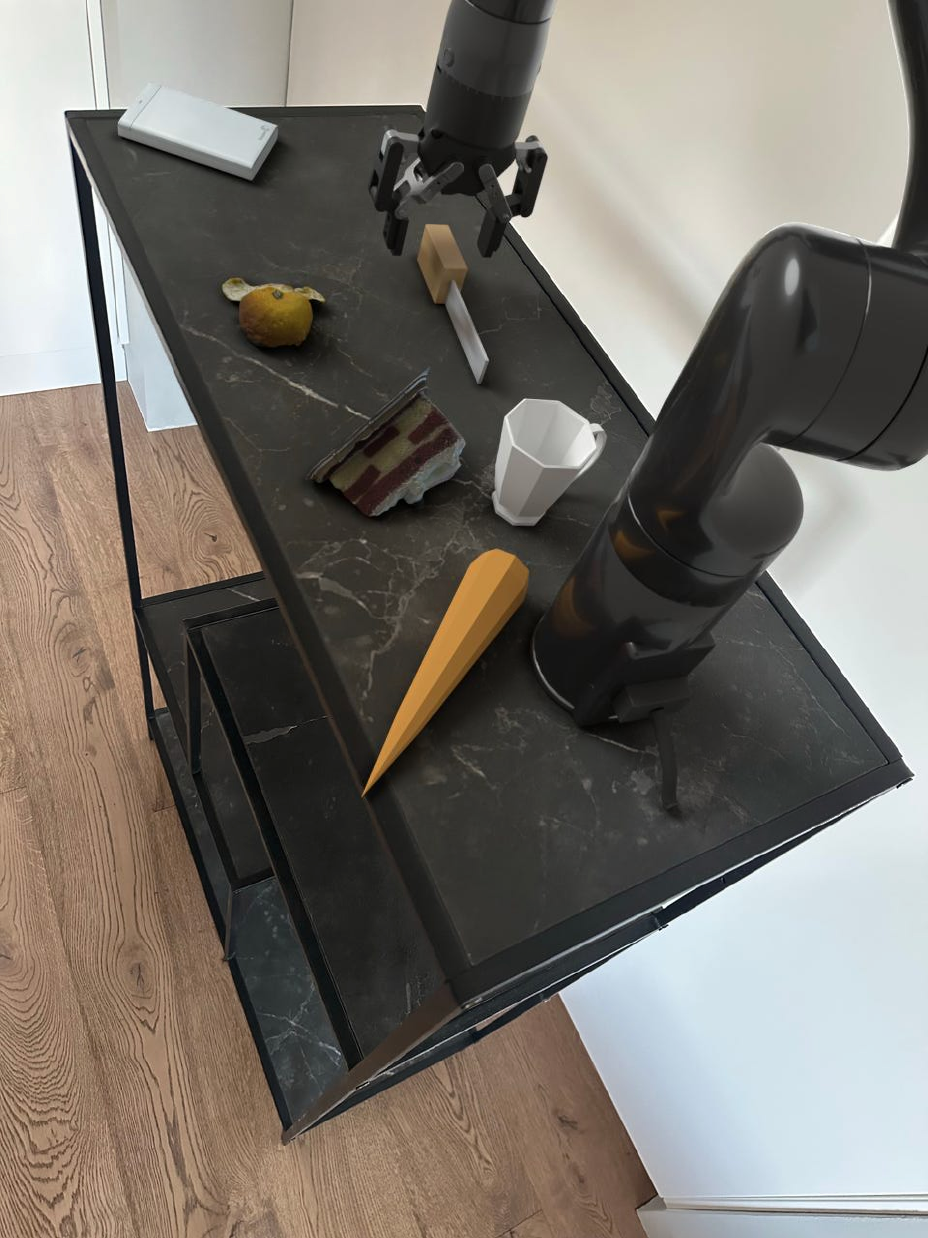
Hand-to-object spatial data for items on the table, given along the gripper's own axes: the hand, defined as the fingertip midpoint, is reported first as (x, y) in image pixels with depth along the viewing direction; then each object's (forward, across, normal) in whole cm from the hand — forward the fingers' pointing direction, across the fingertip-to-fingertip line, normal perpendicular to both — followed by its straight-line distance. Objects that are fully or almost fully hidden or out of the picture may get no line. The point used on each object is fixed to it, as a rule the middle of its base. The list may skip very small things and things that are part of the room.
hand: (439, 250), depth 80 cm
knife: (+3, 0, +6) cm, 6 cm away
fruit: (+3, +15, +5) cm, 16 cm away
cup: (+3, -1, +26) cm, 26 cm away
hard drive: (+2, +12, -16) cm, 20 cm away
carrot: (0, +13, +40) cm, 42 cm away
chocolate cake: (+3, +10, +23) cm, 25 cm away
